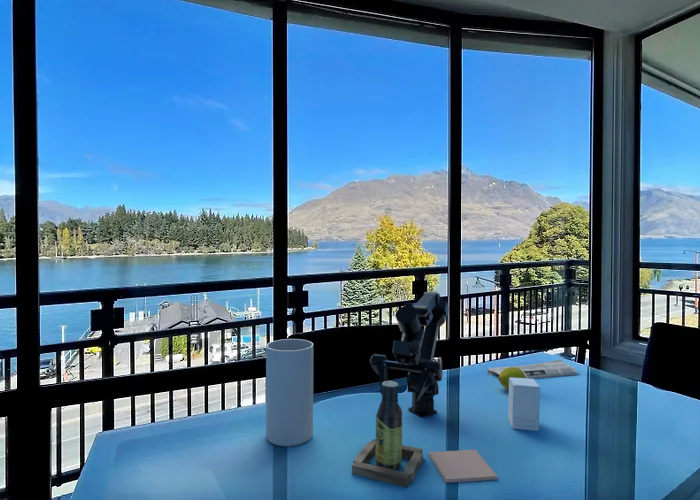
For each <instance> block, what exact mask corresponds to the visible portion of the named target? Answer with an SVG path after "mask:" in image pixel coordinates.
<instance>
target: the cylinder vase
mask: <svg viewBox="0 0 700 500" xmlns="http://www.w3.org/2000/svg"><path fill="white" fill-rule="evenodd" d="M265 349H266V350H265V352H266V354H265V358H266V359H265V361H266V364H265V369H266V371H265V372H266V373H265V376H266V377H265V382H266V383H265V386H266V387H265V396H266V397H265V412H266V413H265V415H266V416H265V431H266V432H265V436H266V439H267V441H268V442H269V443H271V444H273V445H275V446H279V447H295V446H299V445H302V444H304V443H306V442H308V441H310V439H311V438H312V436H313V434H314V343H313V342H312V341H309V340H307V339H299V338H285V339H278V340H272V341H270V342H268V343H266V347H265Z"/></svg>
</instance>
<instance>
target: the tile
mask: <svg viewBox="0 0 700 500" xmlns="http://www.w3.org/2000/svg"><path fill="white" fill-rule="evenodd" d="M428 453H429V457H430V459H431V461H432V462H433V464H434V466H435V467H436V469H437V471H438V472H439V474H440V476H441V477H442V480H443V481H444V483H445V484H447V483H448V484H450V483H463V482H464V483H465V482H478V481H493V480H498V475H497V473H495V471H494V470H493V469H492V468H491V466H490V465H489V464H488V463H487V462H486V460H485V459H484V457H482V455H480V453H479V451H477V449H463V450H462V449H461V450H445V451H443V450H442V451H439V450H438V451H429V452H428Z"/></svg>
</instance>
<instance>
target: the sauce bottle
mask: <svg viewBox="0 0 700 500" xmlns="http://www.w3.org/2000/svg"><path fill="white" fill-rule="evenodd" d="M399 385H400V384H399V383H398V381H394V380H387V381H384V382H383V383H382V386H381V389H382V395H381V401H380V404H379V406H378V410H377V412H376V414H375V439H376V449H375V453H374V454H375V455H374V457H375V464H376V466H378V467H383V468H387V469H391V470H397V469H399V468H400V467H401V463H402V458H403V457H402V445H403V412H402V408H401V405H400V404H399V399H398V397H399V390H400V388H399V387H400V386H399ZM381 389H380V390H381Z"/></svg>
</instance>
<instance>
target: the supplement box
mask: <svg viewBox="0 0 700 500" xmlns="http://www.w3.org/2000/svg"><path fill="white" fill-rule="evenodd" d="M540 396H541V386H540V385H539V383H538V382H537V380H536V379H528V378H509V390H508V409H507V410H508V412H507V417H508V421H509V424H510V427H511V428H512V429H515V430H523V431H535V432H539V431H540V410H541V409H540V404H541V403H540V402H541V401H540V398H541V397H540Z"/></svg>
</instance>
